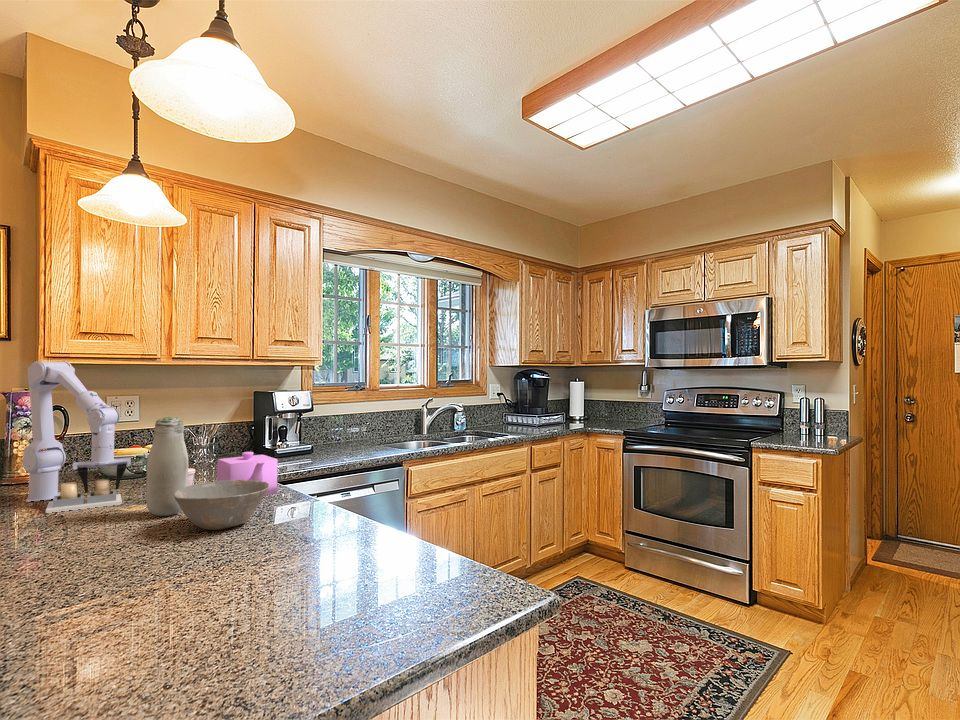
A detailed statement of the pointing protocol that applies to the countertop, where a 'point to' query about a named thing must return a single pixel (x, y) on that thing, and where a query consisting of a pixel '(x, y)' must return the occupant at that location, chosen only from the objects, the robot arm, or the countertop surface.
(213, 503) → the ceramic bowl
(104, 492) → the jaw peg
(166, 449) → the glass bottle
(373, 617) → the countertop surface
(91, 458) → the robot arm
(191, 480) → the smoothie
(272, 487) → the teapot
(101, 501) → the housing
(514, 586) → the countertop surface
